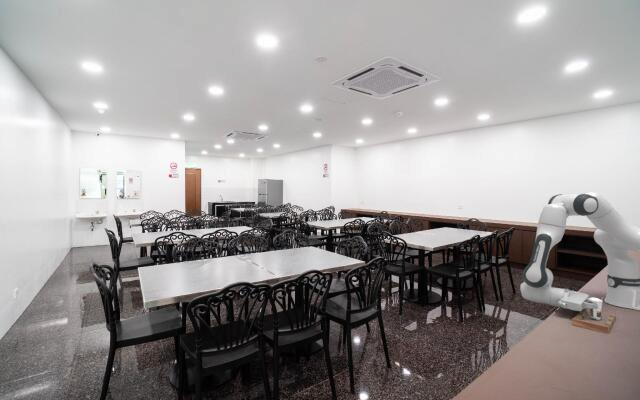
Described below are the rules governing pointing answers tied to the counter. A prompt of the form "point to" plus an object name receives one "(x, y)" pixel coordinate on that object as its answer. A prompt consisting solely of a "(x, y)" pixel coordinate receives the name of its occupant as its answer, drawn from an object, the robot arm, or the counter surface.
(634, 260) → the robot arm
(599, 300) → the milkshake
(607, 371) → the counter surface
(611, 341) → the counter surface
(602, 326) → the rail guide
